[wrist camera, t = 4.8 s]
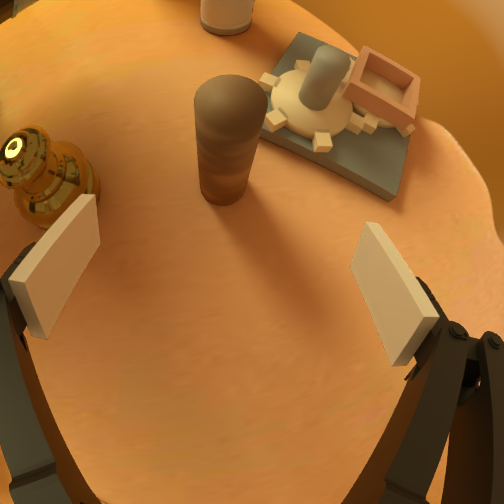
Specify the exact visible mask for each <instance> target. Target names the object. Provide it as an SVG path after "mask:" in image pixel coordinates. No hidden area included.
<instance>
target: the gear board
mask: <svg viewBox="0 0 504 504" xmlns="http://www.w3.org/2000/svg"><path fill="white" fill-rule="evenodd" d="M258 85H260V86H261V87H262V89H263V90H264V91H265V93H266V95H267V98H268V109H267V112H266V116H265V119H264V123H263V126H262V130H261V134H260V137H261V138H263V139H265V140H268V141H270V142H272V143H274V144H277V145H279V146H281V147H283V148H285V149H288V150H290V151H292V152H294V153H296V154H298V155H300V156H302V157H305V158H307V159H309V160H311V161H313V162H315V163H317V164H319V165H321V166H323V167H325V168H327V169H329V170H331V171H333V172H335V173H337V174H339V175H341V176H342V177H344V178H346V179H348V180H350V181H352V182H354V183H356V184H358V185H359V186H361V187H363V188H365V189H367V190H369V191H370V192H372V193H374V194H376V195H378V196H379V197H381V198H383V199H385V200H386V201H388V202H389V201H390V200H392V199H393V198H395V197H396V196H397V193H398V188H399V184H400V180H401V176H402V171H403V167H404V162H405V157H406V152H407V147H408V142H409V137H410V133H411V132H412V131H414V130H415V129H416V128H415V126H414V125H413V124H412V122H413V121H414V120H415V115H416V109H417V106H418V105H419V104H420V103H419V101H418V95H419V87H420V77H418V76H417V75H415V74H414V73H412V72H411V71H409V70H407V69H406V68H404V67H402V66H401V65H399V64H397V63H396V62H394V61H392V60H390V59H389V58H387V57H385V56H383V55H382V54H380V53H378V52H376V51H374V50H372V49H371V48H369V47H367V46H365V45H364V46H363V48H362V50H361V51H360V53H359V55H358V57H357V58H356V57H354V56H352V55H350V54H348V53H346V52H344V51H342V50H341V49H339V48H336V47H334V46H331V45H329V44H327V43H325V42H322V41H320V40H318V39H315V38H313V37H311V36H308V35H306V34H303V33H301V32H298V34H297V35H296V37H295V38H294V40H293V41H292V43H291V44H290V46H289V47H288V49H287V50H286V52H285V53H284V55H283V56H282V58H281V59H280V61H279V62H278V64H277V65H276V67H275V69H274V70H273V72H272V73H271V74H268V73H266V72H264V74H263V75H262V77H261V78H260V80H259V83H258Z"/></svg>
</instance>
